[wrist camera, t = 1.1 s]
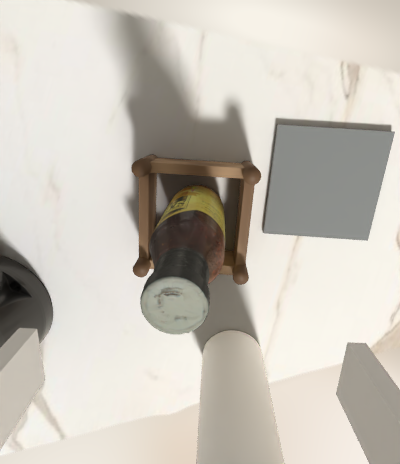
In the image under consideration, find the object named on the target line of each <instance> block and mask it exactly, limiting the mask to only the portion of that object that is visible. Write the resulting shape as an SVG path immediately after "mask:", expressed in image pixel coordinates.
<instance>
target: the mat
mask: <svg viewBox="0 0 400 464" xmlns="http://www.w3.org/2000/svg"><path fill="white" fill-rule="evenodd" d="M394 133H395V132H391V131H375V130H359V129H343V128H327V127H311V126H294V125H277V128H276V136H275V144H274V151H273V159H272V166H271V174H270V181H269V189H268V197H267V204H266V212H265V219H264V227H263V233H269V234H283V235H297V236H311V237H325V238H339V239H353V240H367V241H368V237H369V233H370V229H371V225H372V221H373V217H374V213H375V209H376V205H377V201H378V197H379V193H380V189H381V185H382V181H383V177H384V173H385V169H386V165H387V161H388V157H389V153H390V149H391V145H392V141H393V137H394Z"/></svg>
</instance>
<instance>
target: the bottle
mask: <svg viewBox="0 0 400 464" xmlns="http://www.w3.org/2000/svg"><path fill="white" fill-rule="evenodd" d="M196 464H284V459H283V454H282V449H281V444H280V439H279V435H278V429H277V425H276V420H275V415H274V410H273V405H272V400H271V395H270V390H269V385H268V380H267V376H266V371H265V366H264V361H263V356H262V352H261V348H260V346H259V344H258V342H257V341H256V340H255V339H254V338H253V337H251V336H250V335H248V334H246V333H244V332H241V331H235V330H228V331H223V332H220V333H217V334H216V335H214V336H212V337H211V338H210V339H209V340H208V341H207V343H206V344H205V347H204V349H203V356H202V372H201V390H200V408H199V426H198V442H197V459H196Z"/></svg>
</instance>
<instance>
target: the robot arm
mask: <svg viewBox="0 0 400 464" xmlns="http://www.w3.org/2000/svg"><path fill="white" fill-rule="evenodd" d="M52 320H53V309H52V304H51V300H50V297H49V295H48V293H47V291H46V289H45V288H44V286H43V285H42V283H41V282H40V281H39V279H38V278H37V277H36V276H35V275H34V274H33V273H32V272H30V271H29V270H28V269H27V268H25V267H24V266H22V265H21V264H19V263H17V262H15V261H13V260H11V259H9V258H6V257H3V256H0V450H1V448H2V447H3V445H4V443H5V442H6V440H7V439H8V437H9V436H10V434H11V433H12V431H13V429H14V428H15V426H16V425H17V423H18V422H19V420H20V419H21V417H22V416H23V414H24V412H25V411H26V409H27V408H28V406H29V405H30V403H31V402H32V400H33V398H34V397H35V395H36V394H37V392H38V391H39V389H40V388H41V386H42V384H43V383H44V381H45V375H44V369H43V362H42V356H41V350H40V343H41V341H42V340H43V339H44V338H45V336H46V335H47V334H48V332H49V330H50V328H51V325H52ZM336 394H337V396H338V399H339V401H340V403H341V405H342V407H343V409H344V411H345V413H346V415H347V417H348V420H349V422H350V424H351V426H352V428H353V430H354V432H355V434H356V436H357V439H358V441H359V442H360V445H361V447H362V449H363V451H364V453H365V455H366V457H367V460H368V462H369V464H400V390H399V388H398V387H397V385H396V384H395V383H394V381H393V380H392V379H391V377H390V376H389V374H388V373H387V372H386V370H385V369H384V367H383V366H382V365H381V363H380V362H379V361H378V359H377V358H376V356H375V355H374V354H373V352H372V351H371V350H370V348H369V347H368V345H367V344H366V343H347V348H346V352H345V356H344V361H343V365H342V370H341V374H340V379H339V383H338V388H337V392H336Z"/></svg>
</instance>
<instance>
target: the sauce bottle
mask: <svg viewBox="0 0 400 464" xmlns="http://www.w3.org/2000/svg"><path fill="white" fill-rule="evenodd" d="M149 250H150V254H151V258H152V261H153V264H154V272H153V273H152V275H151V276H150V277H149V278H148V280H147V282H146V284H145V286H144V289H143V292H142V295H141V302H140V304H141V309H142V313H143V315H144V317H145V318H146V320H147V321H148V322H149V323H150V324H151V325H152V326H153V327H154V328H156V329H158V330H159V331H162V332H165V333H168V334H183V333H189V332H191V331H194V330H195V329H197V328H198V327H199V326H200V325H202V323H203V322H204V320H205V319H206V317H207V314H208V311H209V289H208V286H207V285H208V284H209V283H210V282H212V281H213V280H214V279H215V278H216V276H217V275H218V274H219V273H220V271H221V269H222V265H223V262H224V255H225V253H224V250H225V219H224V207H223V204H222V202H221V199H220V197H219V196H218V195H217V194H216V193H215V192H214V191H213V190H212V189H211V188H209V187H207V186H204V185H191V186H187V187H185V188H184V189H182V190H180V191H179V192H177V193H176V194H175V195H174V197H173V198H172V200H171V202H170V203H169V205H168V207H167V208H166V210H165V212H164V214H163V216H162V217H161V219H160V221H159V223H158V224H157V226H156V228H155V230H154V232H153V234H152V236H151V239H150V243H149Z"/></svg>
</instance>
